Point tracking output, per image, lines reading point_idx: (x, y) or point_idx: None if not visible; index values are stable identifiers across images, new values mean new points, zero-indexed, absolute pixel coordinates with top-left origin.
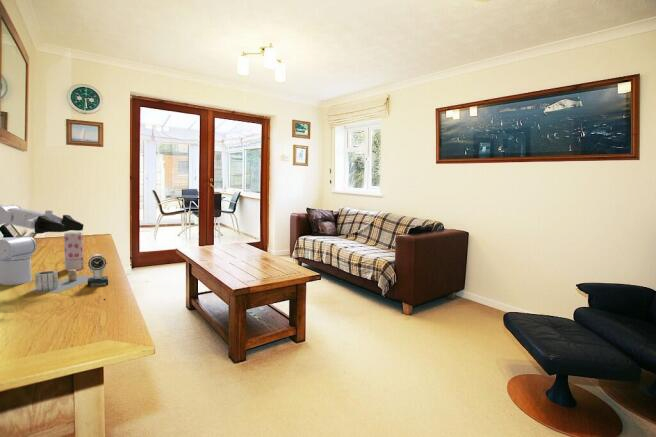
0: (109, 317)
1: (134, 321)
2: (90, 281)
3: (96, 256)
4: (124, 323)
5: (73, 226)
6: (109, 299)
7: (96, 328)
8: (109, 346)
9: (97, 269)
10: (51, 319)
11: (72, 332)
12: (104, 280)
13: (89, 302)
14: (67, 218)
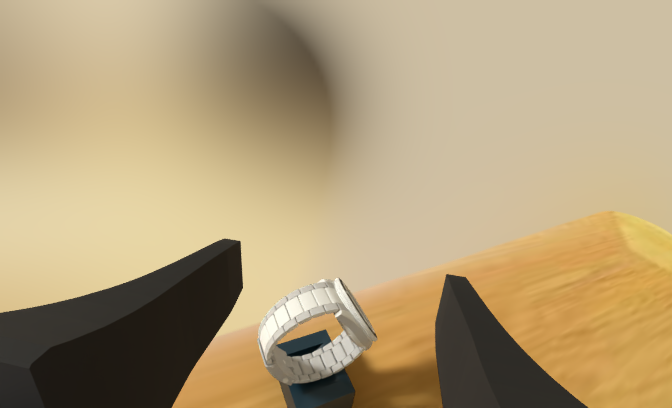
0: (550, 273)
1: (547, 236)
2: (349, 383)
3: (347, 294)
4: (563, 245)
5: (195, 326)
6: None
7: (606, 275)
8: (645, 241)
9: (367, 319)
10: (627, 381)
11: (647, 304)
12: (329, 342)
13: None
14: (118, 330)
